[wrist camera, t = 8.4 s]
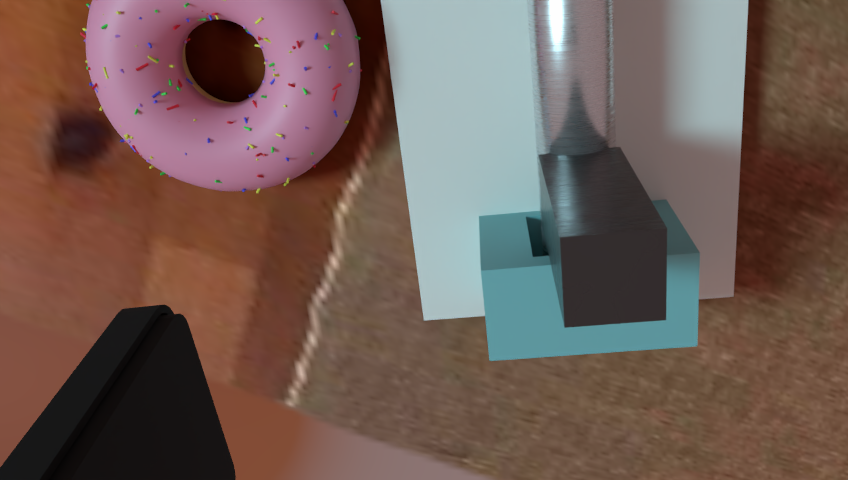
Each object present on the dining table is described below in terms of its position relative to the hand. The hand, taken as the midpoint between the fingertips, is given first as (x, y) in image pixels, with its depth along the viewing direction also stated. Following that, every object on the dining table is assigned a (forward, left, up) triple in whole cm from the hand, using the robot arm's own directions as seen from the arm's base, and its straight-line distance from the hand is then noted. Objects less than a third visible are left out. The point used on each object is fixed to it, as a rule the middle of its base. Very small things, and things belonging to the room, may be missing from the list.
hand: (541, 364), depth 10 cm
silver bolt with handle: (0, +3, -22) cm, 22 cm away
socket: (+9, +3, -23) cm, 25 cm away
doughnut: (0, -11, -25) cm, 27 cm away
